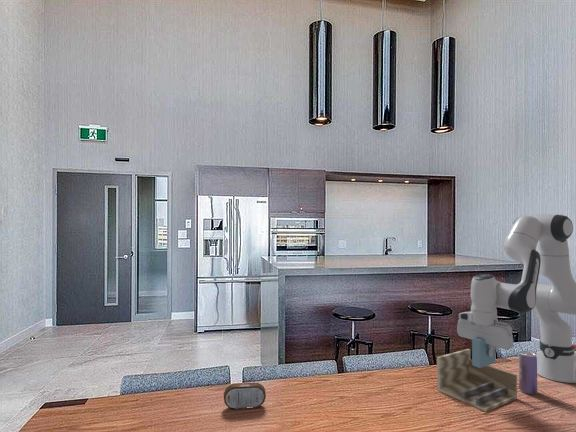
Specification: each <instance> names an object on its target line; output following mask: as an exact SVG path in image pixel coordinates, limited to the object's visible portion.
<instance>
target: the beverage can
mask: <svg viewBox="0 0 576 432" xmlns="http://www.w3.org/2000/svg"><path fill="white" fill-rule="evenodd" d="M536 356H537V353H534V352H531V351H526V350H522V351H519V354H518V377H519V378H518V381H519V382H518V383H519V387H518V388H519V390H520V392H522V393H523V394H525V393H526V395H529V396H530V395H533V396H534V395H536V394H537V393H538V373H537V357H536Z"/></svg>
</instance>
